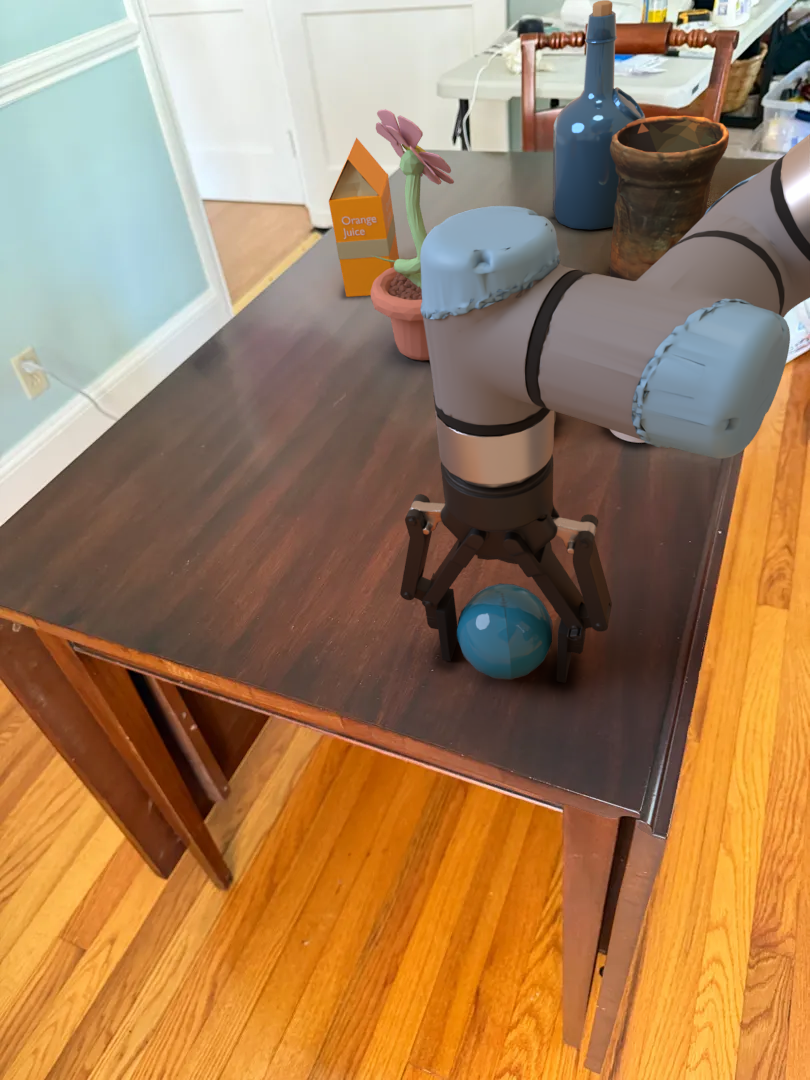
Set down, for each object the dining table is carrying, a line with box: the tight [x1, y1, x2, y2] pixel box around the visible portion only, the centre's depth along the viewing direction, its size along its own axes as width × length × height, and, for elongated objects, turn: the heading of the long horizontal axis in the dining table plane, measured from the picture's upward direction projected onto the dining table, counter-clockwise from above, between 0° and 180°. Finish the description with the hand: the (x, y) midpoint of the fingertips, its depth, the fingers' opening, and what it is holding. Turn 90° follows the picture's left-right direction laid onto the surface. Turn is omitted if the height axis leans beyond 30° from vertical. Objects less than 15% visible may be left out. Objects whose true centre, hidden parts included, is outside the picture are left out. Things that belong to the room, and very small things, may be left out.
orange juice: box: [328, 137, 400, 298], centre depth 116 cm, size 8×9×20 cm
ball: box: [457, 582, 554, 681], centre depth 65 cm, size 8×8×8 cm
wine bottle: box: [552, 0, 646, 231], centre depth 120 cm, size 14×13×30 cm
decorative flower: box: [370, 108, 455, 361], centre depth 96 cm, size 15×14×30 cm
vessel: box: [605, 115, 730, 281], centre depth 105 cm, size 14×14×20 cm
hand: (506, 658), depth 68 cm, fingers open, 9 cm apart
